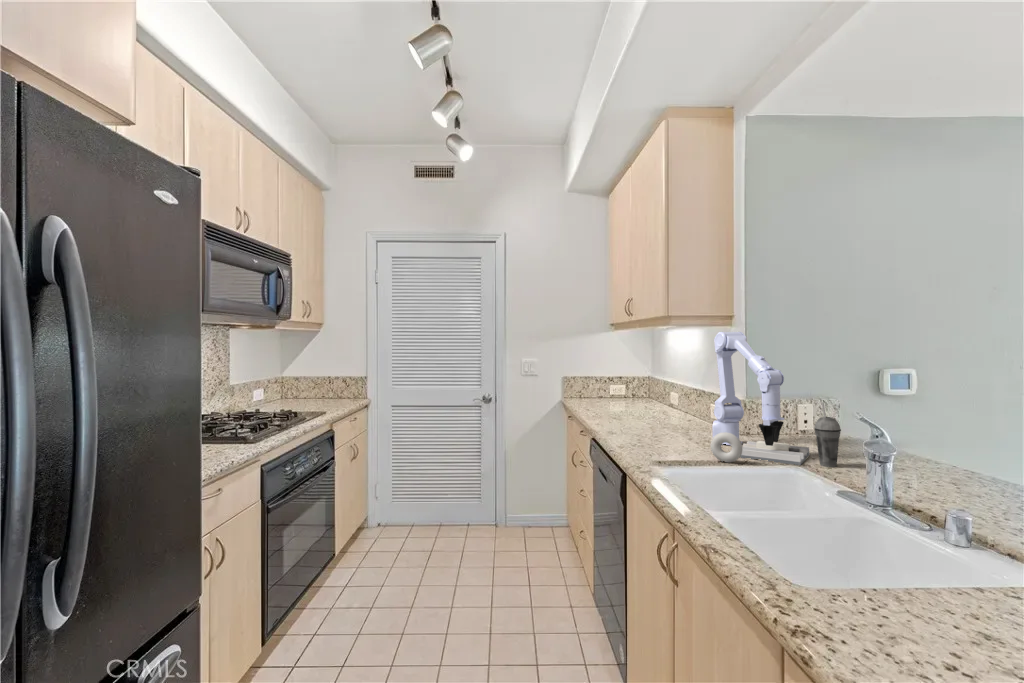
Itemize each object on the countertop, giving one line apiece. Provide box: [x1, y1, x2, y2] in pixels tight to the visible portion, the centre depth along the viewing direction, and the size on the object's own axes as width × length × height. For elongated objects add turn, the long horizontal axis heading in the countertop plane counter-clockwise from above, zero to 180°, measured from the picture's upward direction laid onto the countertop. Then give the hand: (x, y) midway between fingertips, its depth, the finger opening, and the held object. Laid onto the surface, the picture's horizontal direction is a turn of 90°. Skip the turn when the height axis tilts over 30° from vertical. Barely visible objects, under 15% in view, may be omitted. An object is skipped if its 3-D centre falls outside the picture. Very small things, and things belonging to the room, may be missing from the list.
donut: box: [709, 432, 743, 463], centre depth 163 cm, size 10×3×10 cm, turn 55°
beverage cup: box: [813, 402, 842, 468], centre depth 156 cm, size 7×7×20 cm
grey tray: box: [740, 440, 811, 466], centre depth 170 cm, size 20×18×3 cm
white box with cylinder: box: [755, 440, 800, 453], centre depth 169 cm, size 13×3×4 cm, turn 50°
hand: (771, 443), depth 170 cm, fingers open, 7 cm apart
